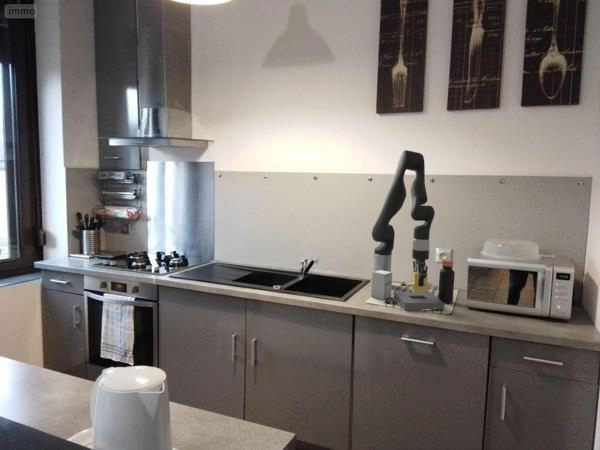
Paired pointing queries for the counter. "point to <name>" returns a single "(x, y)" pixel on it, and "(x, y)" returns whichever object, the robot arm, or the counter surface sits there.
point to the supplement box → (381, 284)
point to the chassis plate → (418, 301)
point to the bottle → (446, 282)
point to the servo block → (415, 282)
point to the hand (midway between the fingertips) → (419, 284)
